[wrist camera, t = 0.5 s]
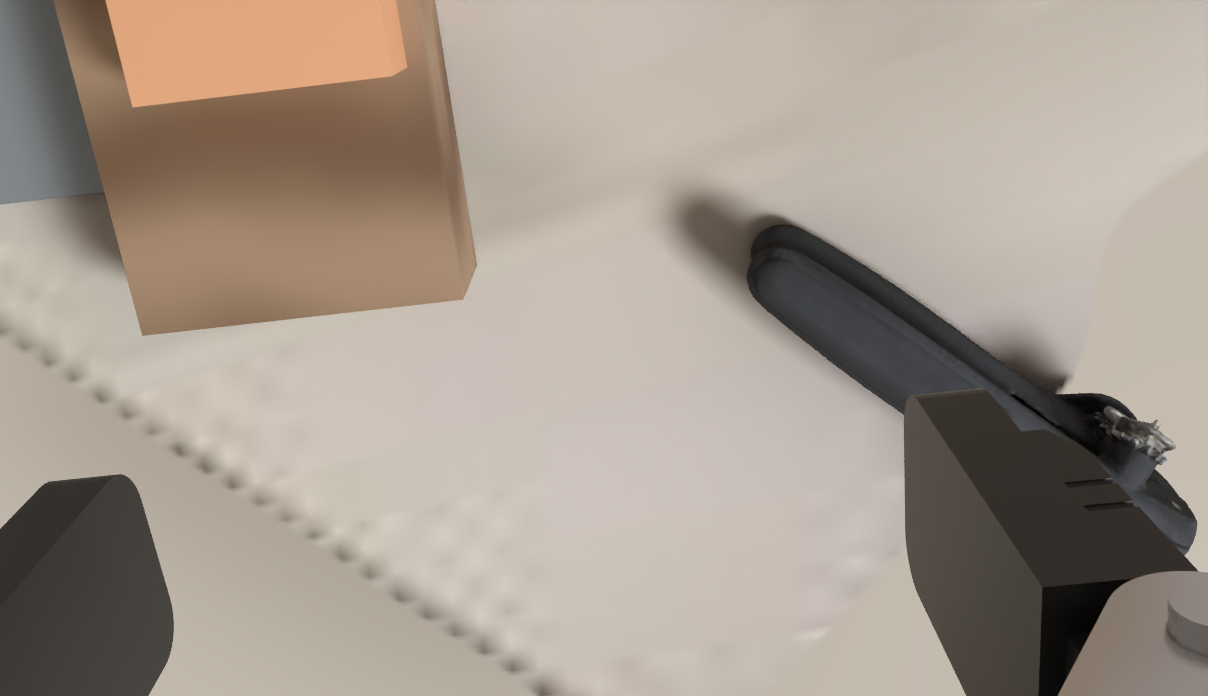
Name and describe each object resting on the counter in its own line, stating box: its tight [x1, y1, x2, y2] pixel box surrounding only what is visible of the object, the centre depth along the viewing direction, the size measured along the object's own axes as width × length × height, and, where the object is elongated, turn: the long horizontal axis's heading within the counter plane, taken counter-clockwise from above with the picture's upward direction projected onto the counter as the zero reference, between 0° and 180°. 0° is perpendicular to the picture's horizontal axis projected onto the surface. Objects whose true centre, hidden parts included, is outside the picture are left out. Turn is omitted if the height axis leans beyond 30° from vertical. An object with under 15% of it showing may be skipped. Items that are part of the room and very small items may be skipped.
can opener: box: [747, 225, 1197, 555], centre depth 37 cm, size 18×7×6 cm, turn 53°
